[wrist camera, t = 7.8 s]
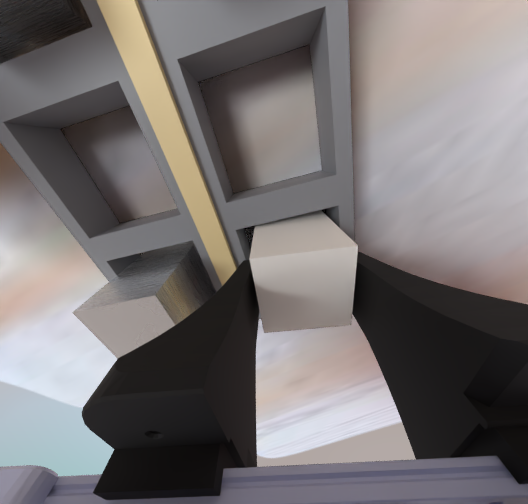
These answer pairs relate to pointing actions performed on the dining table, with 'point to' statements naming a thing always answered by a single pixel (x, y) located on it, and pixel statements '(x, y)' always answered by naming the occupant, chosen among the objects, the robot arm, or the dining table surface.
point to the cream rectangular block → (303, 273)
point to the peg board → (177, 120)
